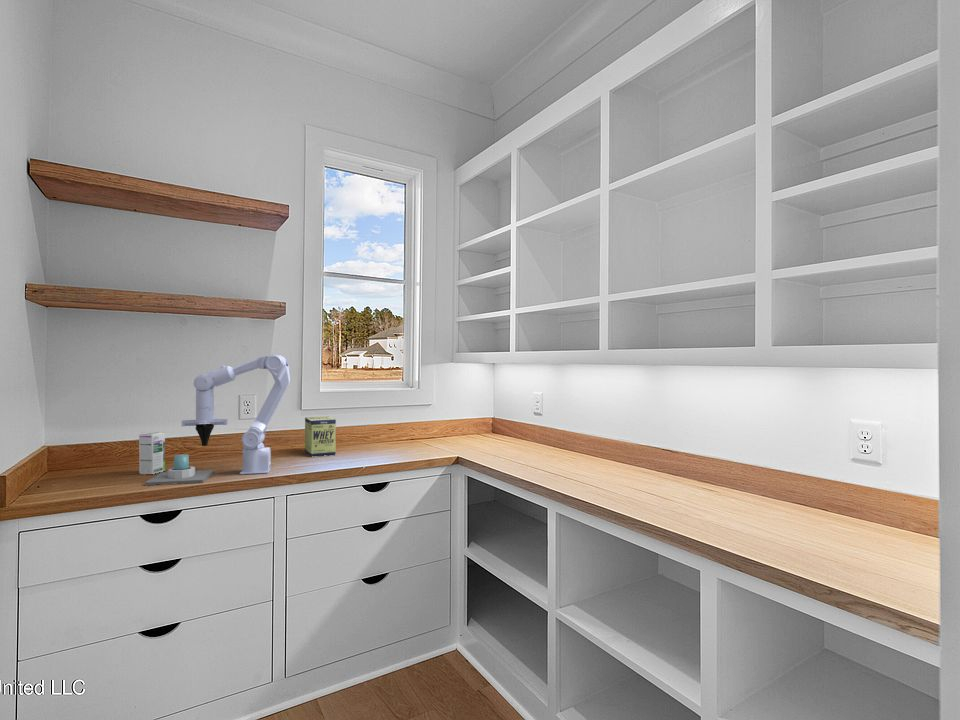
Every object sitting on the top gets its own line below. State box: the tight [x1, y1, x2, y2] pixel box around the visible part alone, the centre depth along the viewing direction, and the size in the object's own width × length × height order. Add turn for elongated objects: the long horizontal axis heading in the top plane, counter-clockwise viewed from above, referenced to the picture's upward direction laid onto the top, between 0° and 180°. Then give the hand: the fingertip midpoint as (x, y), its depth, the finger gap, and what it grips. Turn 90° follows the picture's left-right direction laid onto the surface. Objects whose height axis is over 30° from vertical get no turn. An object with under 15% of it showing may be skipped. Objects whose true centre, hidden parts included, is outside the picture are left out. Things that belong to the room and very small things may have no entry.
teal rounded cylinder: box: [173, 454, 190, 470], centre depth 176 cm, size 4×4×7 cm
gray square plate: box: [144, 466, 215, 486], centre depth 177 cm, size 17×16×4 cm
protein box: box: [304, 416, 337, 458], centre depth 227 cm, size 10×16×16 cm
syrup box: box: [138, 431, 166, 475], centre depth 186 cm, size 6×6×14 cm
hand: (204, 445), depth 185 cm, fingers closed
